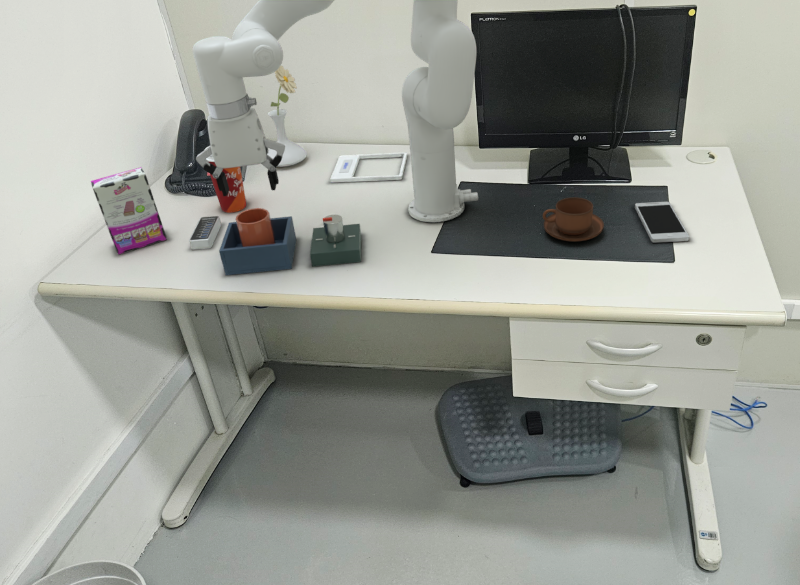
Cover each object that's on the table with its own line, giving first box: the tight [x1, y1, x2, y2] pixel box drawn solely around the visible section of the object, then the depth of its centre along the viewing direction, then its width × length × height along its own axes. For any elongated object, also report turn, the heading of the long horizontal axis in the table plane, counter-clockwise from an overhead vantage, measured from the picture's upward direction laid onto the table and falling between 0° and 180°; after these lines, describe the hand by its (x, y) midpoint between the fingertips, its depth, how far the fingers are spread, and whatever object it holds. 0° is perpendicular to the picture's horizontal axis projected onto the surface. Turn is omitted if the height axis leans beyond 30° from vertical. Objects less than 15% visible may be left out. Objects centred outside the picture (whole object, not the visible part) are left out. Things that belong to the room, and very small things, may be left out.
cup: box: [235, 207, 276, 247], centre depth 146 cm, size 7×7×9 cm
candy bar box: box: [90, 166, 168, 255], centre depth 155 cm, size 11×5×16 cm, turn 117°
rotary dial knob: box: [322, 214, 345, 243], centre depth 146 cm, size 4×4×5 cm
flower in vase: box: [267, 65, 308, 168], centre depth 184 cm, size 13×11×25 cm
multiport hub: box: [188, 215, 222, 251], centre depth 159 cm, size 4×11×2 cm, turn 179°
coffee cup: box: [204, 145, 247, 214], centre depth 167 cm, size 8×8×15 cm
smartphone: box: [634, 201, 690, 243], centre depth 145 cm, size 7×15×1 cm, turn 177°
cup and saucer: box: [542, 197, 605, 243], centre depth 144 cm, size 12×12×6 cm
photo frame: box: [329, 152, 408, 183], centre depth 181 cm, size 15×1×18 cm
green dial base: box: [309, 223, 362, 268], centre depth 148 cm, size 10×11×3 cm
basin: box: [218, 215, 297, 276], centre depth 148 cm, size 14×12×6 cm
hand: (250, 190), depth 141 cm, fingers open, 9 cm apart
